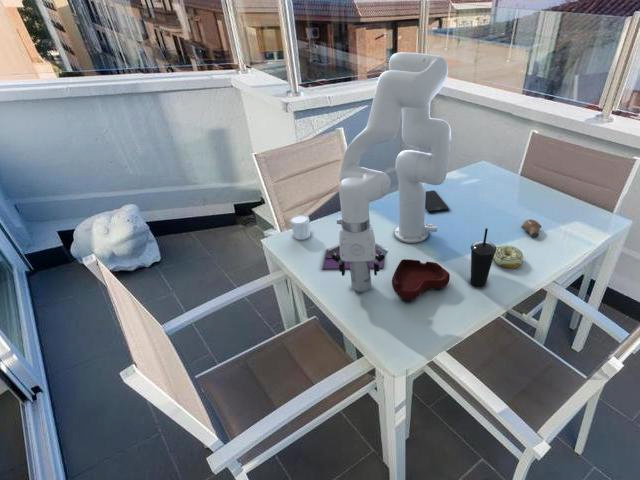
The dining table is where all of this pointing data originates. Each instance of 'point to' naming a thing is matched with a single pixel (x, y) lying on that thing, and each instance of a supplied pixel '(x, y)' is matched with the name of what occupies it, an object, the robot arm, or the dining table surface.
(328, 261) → the napkin
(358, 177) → the robot arm
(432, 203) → the cell phone
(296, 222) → the shot glass
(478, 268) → the drinking cup
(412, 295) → the ashtray
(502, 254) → the decorated donut
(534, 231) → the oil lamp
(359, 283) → the energy drink can
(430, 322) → the dining table surface
